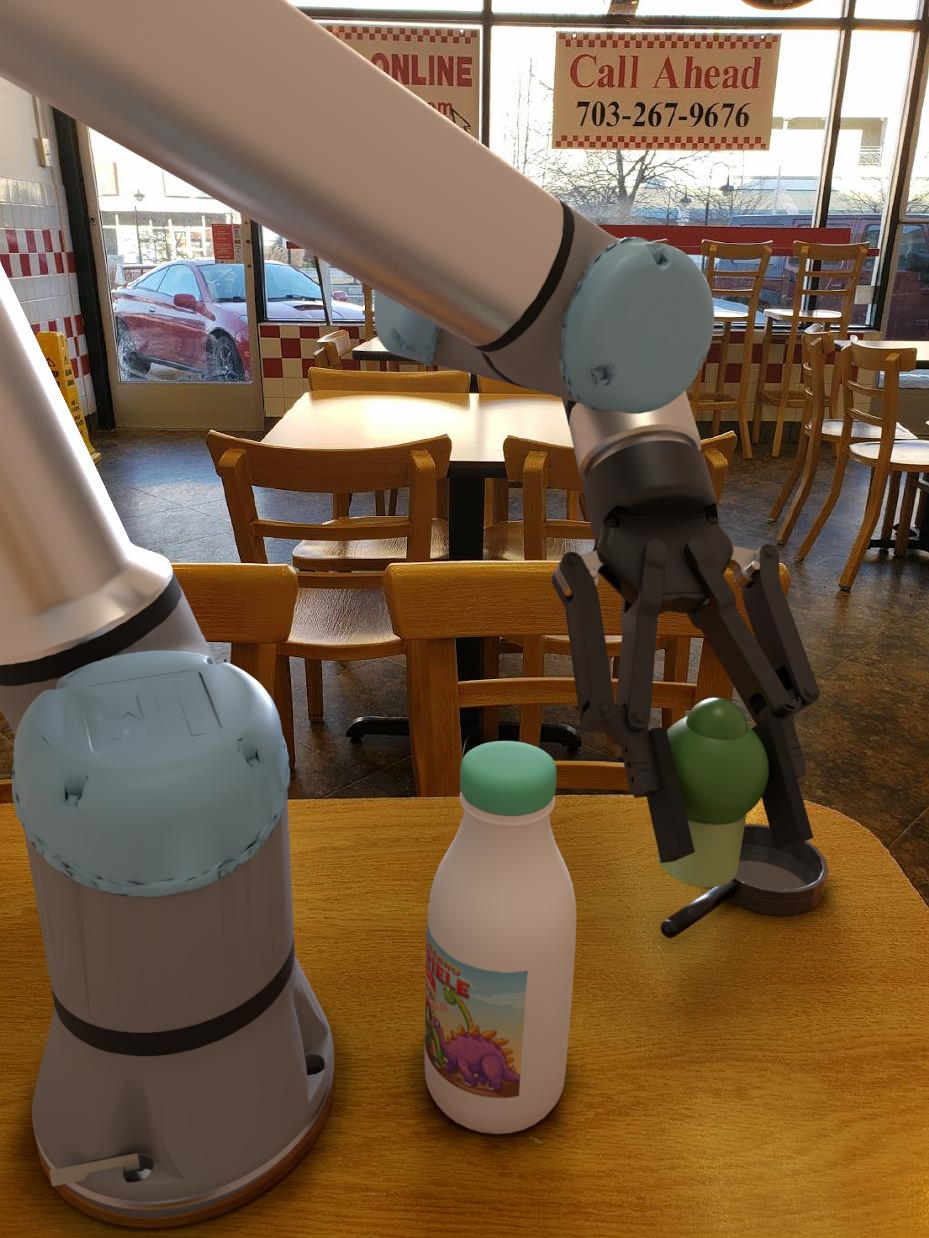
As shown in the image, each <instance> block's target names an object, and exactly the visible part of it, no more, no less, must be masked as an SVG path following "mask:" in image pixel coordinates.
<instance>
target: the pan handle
mask: <svg viewBox="0 0 929 1238" xmlns="http://www.w3.org/2000/svg"><path fill="white" fill-rule="evenodd" d="M736 893H737V885H736V883H735V882H734V881H730V882H729V883H727V884H724V885H722V886H717V887H711V889H709V890H708V891H706V892H705V893H703V894H702V895H700V896H699V897H697V898H695V899H694V900H693V901H691V902H690V903H687V904H686V905H685V906H683V907H682V908H681V909H679V910H678V911H676V912H675V913H673V914H672V915H670V916H668V917H667V918H666V919H664V920H662V922H661V924H660V932H661V934H662V935H663V936H664V937H666V938H668V939H674V938H676V937H677V936H679V935H680V934H682V933H684V931H686V930H687V929H689V928H690V927H691V926H693V925H695V924H696V923H697V922H699V921H700V920H701V919H703V918H704V917H706V916H707V915H709V914H710V913H712V912H714V911H715V910H716V909H718V908H719V907H721V906H722V905H723V904H725V903H726V902H728V901H729V899H730V898H732V897H733V896H735V895H736Z"/></svg>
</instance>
